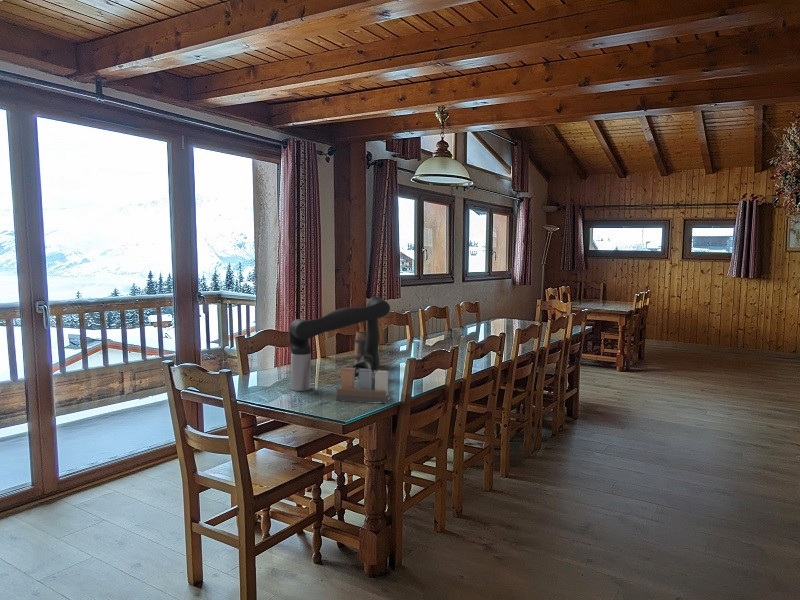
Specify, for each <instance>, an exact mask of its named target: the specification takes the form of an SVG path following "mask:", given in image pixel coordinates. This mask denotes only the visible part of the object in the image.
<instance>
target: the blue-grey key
mask: <svg viewBox="0 0 800 600" xmlns="http://www.w3.org/2000/svg"><path fill="white" fill-rule="evenodd" d="M372 374H373V370H371V369H360V370H359V378H358V389H363V390H372V385H373V384H372V380H373V378H372V376H373V375H372Z"/></svg>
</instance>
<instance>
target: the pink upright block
mask: <svg viewBox="0 0 800 600" xmlns="http://www.w3.org/2000/svg"><path fill="white" fill-rule="evenodd" d="M355 378H356V377H355V369H354V368H352V367H343V368H342V370H341V384H340V385H341V387H340V388H349V389H355V385H356V384H355V381H356V380H355Z"/></svg>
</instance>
